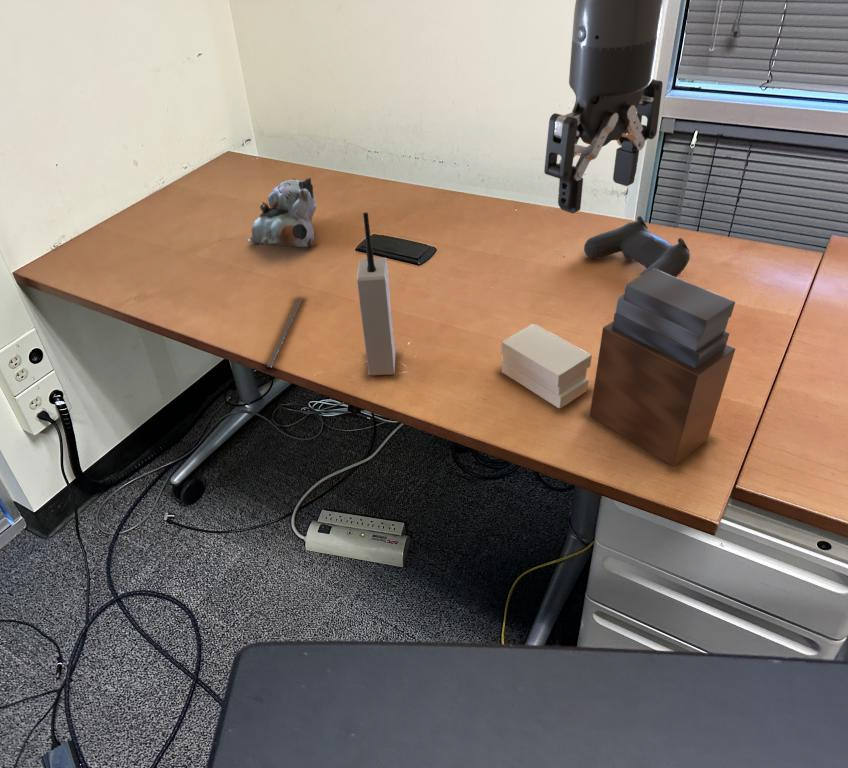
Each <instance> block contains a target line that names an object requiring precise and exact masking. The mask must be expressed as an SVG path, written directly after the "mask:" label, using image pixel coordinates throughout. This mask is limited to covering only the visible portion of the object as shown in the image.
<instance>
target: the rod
mask: <svg viewBox="0 0 848 768" xmlns="http://www.w3.org/2000/svg"><path fill="white" fill-rule="evenodd" d="M301 303H302V298H297V300H296V302H295V304H294V307H293V309H292V311H291V314H290V316H289V317H288V320H287V323H286V325H285V327H284V329H283V332H282V333H281V336H280V338H279V340H278V342H277V344H276V347H275V348H274V351H273V353H272V356H271V358H270V359H269V362H268V364H267V367H266V369H268V370H269V369H270V370H272V369H273V367H274V364H275V361H276V359H277V357H278V355H279V353H280V351H281V348H282V346H283V343H284V342H285V339H286V337H287V334H288V332H289V330H290V327H291V326H292V323H293V320H294V319H295V317H296V314H297V312H298V309H299V307H300V305H301Z"/></svg>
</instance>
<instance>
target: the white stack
mask: <svg viewBox="0 0 848 768" xmlns="http://www.w3.org/2000/svg"><path fill="white" fill-rule="evenodd" d="M587 371H588V368H587V369H586V370H584V371H583V372H581V373H580V374H578V375H576V376H575V377H573V378H572V379H570V380H569V381H567V382H565V383H564V384H562V385H561V386H559V387H556V386H555V385H553V384H551V383H550V382H548V381H546V380H545V379H543V378H541V377H540V376H538V375H536V374H535V373H533V372H531V371H530V370H528V369H527V368H525V367H523V366H522V365H520V364H518V363H517V362H515V361H513V360H512V359H510V358H508V357H507V356H505V355H503V354H502V361H501V373H502V374H504V375H505V376H507V377H509V378H510V379H511V380H513V381H515V382H516V383H518V384H519V385H521V386H523V387H524V388H526V389H527V390H529V391H531V392H532V393H534V394H535V395H537V396H538V397H540V398H542V399H543V400H545V402H548V403H549V404H551V405H552V406H553V407H556V408H558V409H562V408H563V407H565V406H566V405H568V404H570V403H571V402H572V401H574V400H575V399H577V398H579V397H580V396H582V395H583V394H584V393H586V392H588V388H589V382H590V379H589V378H587V373H588V372H587Z"/></svg>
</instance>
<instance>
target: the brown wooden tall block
mask: <svg viewBox="0 0 848 768" xmlns="http://www.w3.org/2000/svg"><path fill="white" fill-rule="evenodd" d="M640 275H641V274H640ZM640 275H639V276H637V277H636V278H635V279H633V280H632V281H630V282H628V283H627V284H625V285H624V292H623V294H622V295H620V296H618V297H617V302H616V309H615V313H614V315H613V321H611V322H610V323H608V324H607V325H605V326H602V331H601V337H600V338H601V339H600V343H599V344H600V345H599V352H598V358H597V365H596V371H595V378H594V385H593V391H592V399H591V405H590V411H589V416H590V417H591V418H593V419H594V420H596V421H597V422H599V423H601V424H602V425H604V426H605V427H607V428H609V429H611V430H612V431H614V432H616V433H617V434H619V435H621V436H622V437H624V438H625V439H627V440H629V441H630V442H632V443H633V444H635V445H637V447H640V448H641V449H643V450H645V451H646V452H648V453H649V454H651V455H653V456H655V457H656V458H657V459H659V460H661V461H663V462H664V463H665V464H668V465H669V466H671V467H675V466H677V464H679V463H680V462H682V461H683V460H684V459H685V458H686V457H688V456H689V455H691V454H692V453H693V452H694V451H695V450H697V449H698V448H700V447H701V446H702V445H703V444H705V443H706V442H707V441H708V440H709V437H710V433H711V430H712V426H713V423H714V420H715V417H716V414H717V410H718V408H719V404H720V401H721V397H722V394H723V392H724V387H725V384H726V382H727V378H728V375H729V371H730V369H731V365H732V362H733V359H734V356H735V352H736V348H735V347H733V346H731V345H728V341H729V337H730V332H728V331H726V329H727V326H728V322H729V319H730V318H731V317H732V315H733V311H734V307H735V305H736V301H735V300H732V299H730V298H727V297H725V296H722V295H720V294H717V293H715V292H712V291H710V290H708V289H705V288H703V287H700V286H699V285H696V284H693V283H691V282H688V281H686V280H683V279H681V278H678V277H674V276H671V275H669V274H666V273H664V272H661V271H659V270H657V269H654V268H653V269H652V270H650V271H648V272H646V273H645V274H643V275H641V276H640Z"/></svg>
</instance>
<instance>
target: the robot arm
mask: <svg viewBox="0 0 848 768" xmlns="http://www.w3.org/2000/svg"><path fill="white" fill-rule="evenodd" d="M663 9H664V0H575V4H574V11H573V22H572V23H573V24H572V37H571V48H570V49H571V51H570V61H569V63H570V64H569V75H568V85H569V87H570V89H571V90H572V91H573V93H574V95H575V102H574V106H573V108H572V111H571V112H569V113H566V114H560V113H556V112H555V113H552V114H551V115H550V116H549V121H548V129H547V138H546V139H547V140H546V148H545V149H546V150H545V159H544V168H543V172H544V174H545V175H547V176H551V177H553V178H555V179H559V180H558V181H559V183H558V195H557V204H558V206H559V209H561V210H562V211H564V212H567V213H569V214H576V213H577V212H579V211H580V210H581V208H582V207H581V206H582V196H583V195H582V194H583V185H584V178H583V176H584V174H585V172H586V170H587V168H588V166H589V164H590V162H592V161H594V160H596V159H597V157H598V156H599V154H600V152H601V150H602V148H603V147H605V146H607V145H608V144H609V143H611V141H616V143H617V145H618V146H620V147H618V148H616V151H615V158H614V167H613V175H612V180H613V182H614V183H615V184H619V185H621V186H625V187H628V186H630V185H632V184H634V182H635V178H636V173H637V168H638V161H639V156H640V155H639V154H640V151H641V150H642V149H643V148H644V147H645V145H646V141H648V140H654V138H656V136H657V133H658V126H659V118H660V109H661V100H662V91H663V85H664V84H663V81H662V80H657V79H653V77H654V69H655V62H656V55H657V49H658V42H659V34H660V27H661V22H662V14H663ZM643 117H645V118H646V125H645V124H642V122H643V121H642V120H643ZM580 139H581V141H582V142H583V143H585V144H586V145H588V146H582V145H579V144H578V142H579V140H580ZM558 156H560V160H559V163H558ZM576 156H579V158H578V160H577V162H576V164H575V165H573V164H574V158H575V157H576Z"/></svg>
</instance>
